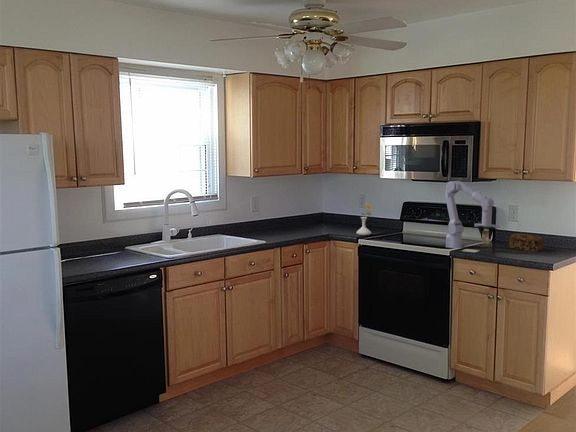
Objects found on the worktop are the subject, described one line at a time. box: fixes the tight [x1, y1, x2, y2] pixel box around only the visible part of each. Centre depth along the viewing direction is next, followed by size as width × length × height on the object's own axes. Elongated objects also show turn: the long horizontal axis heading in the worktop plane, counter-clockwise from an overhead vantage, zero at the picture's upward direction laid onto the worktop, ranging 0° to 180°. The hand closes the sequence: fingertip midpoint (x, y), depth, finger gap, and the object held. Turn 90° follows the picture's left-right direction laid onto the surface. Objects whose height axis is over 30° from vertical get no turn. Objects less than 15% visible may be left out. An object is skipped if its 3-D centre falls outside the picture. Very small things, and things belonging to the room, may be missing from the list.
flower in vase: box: [356, 202, 374, 236], centre depth 427 cm, size 13×11×25 cm
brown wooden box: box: [481, 230, 491, 245], centre depth 352 cm, size 4×2×8 cm, turn 53°
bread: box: [508, 232, 545, 252], centre depth 362 cm, size 19×11×10 cm, turn 44°
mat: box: [461, 248, 481, 253], centre depth 355 cm, size 9×9×1 cm
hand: (486, 238), depth 352 cm, fingers closed on brown wooden box, 4 cm apart
